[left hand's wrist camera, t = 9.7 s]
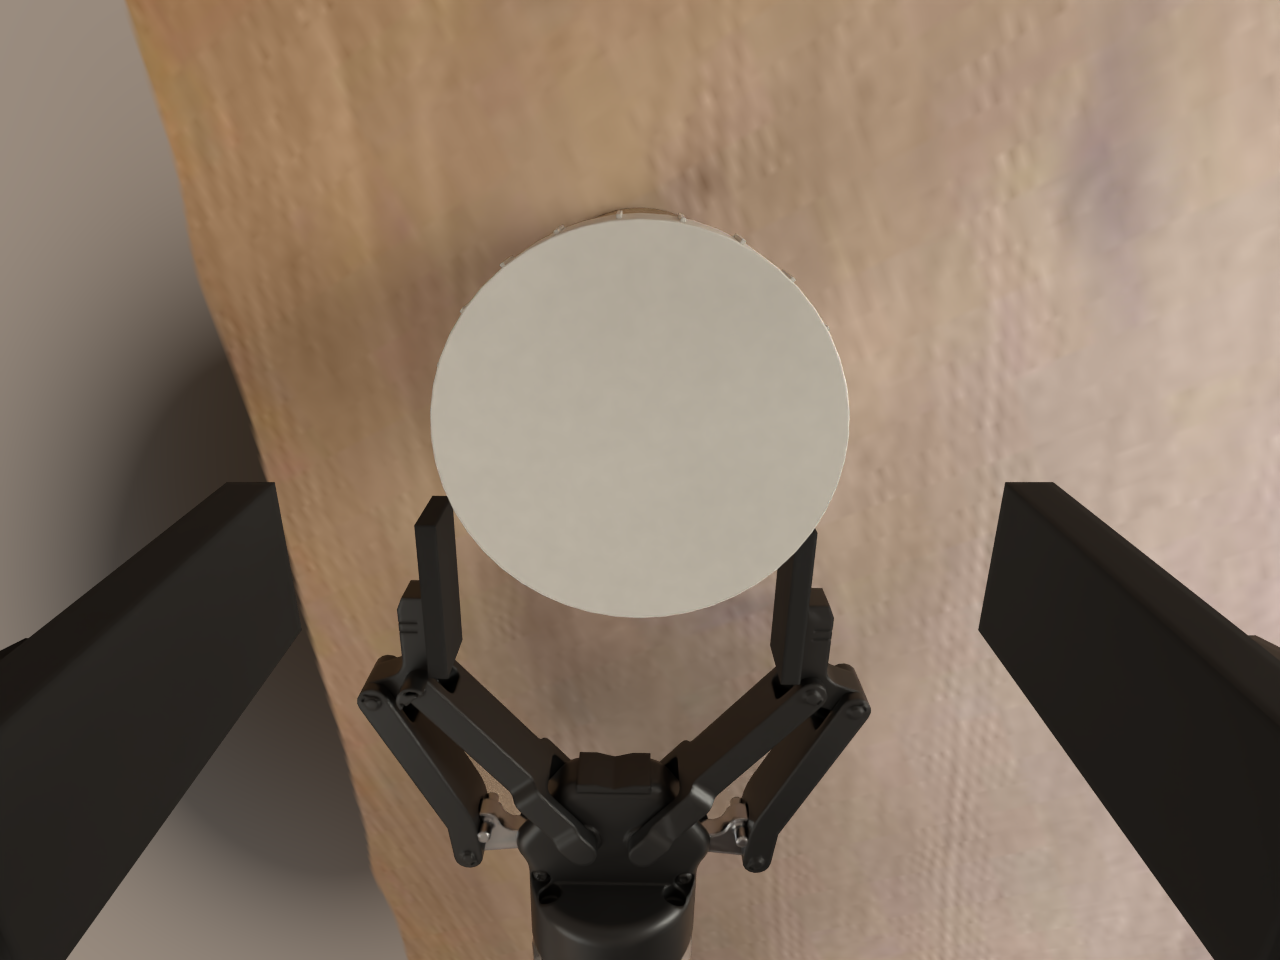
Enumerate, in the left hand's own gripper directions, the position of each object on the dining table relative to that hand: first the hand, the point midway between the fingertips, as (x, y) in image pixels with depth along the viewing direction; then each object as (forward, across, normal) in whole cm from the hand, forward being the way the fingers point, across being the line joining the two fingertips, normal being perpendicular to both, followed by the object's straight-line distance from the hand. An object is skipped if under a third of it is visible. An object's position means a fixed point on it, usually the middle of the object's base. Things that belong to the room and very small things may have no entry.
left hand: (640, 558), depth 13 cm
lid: (+6, 0, 0) cm, 6 cm away
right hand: (+16, +1, +6) cm, 17 cm away
